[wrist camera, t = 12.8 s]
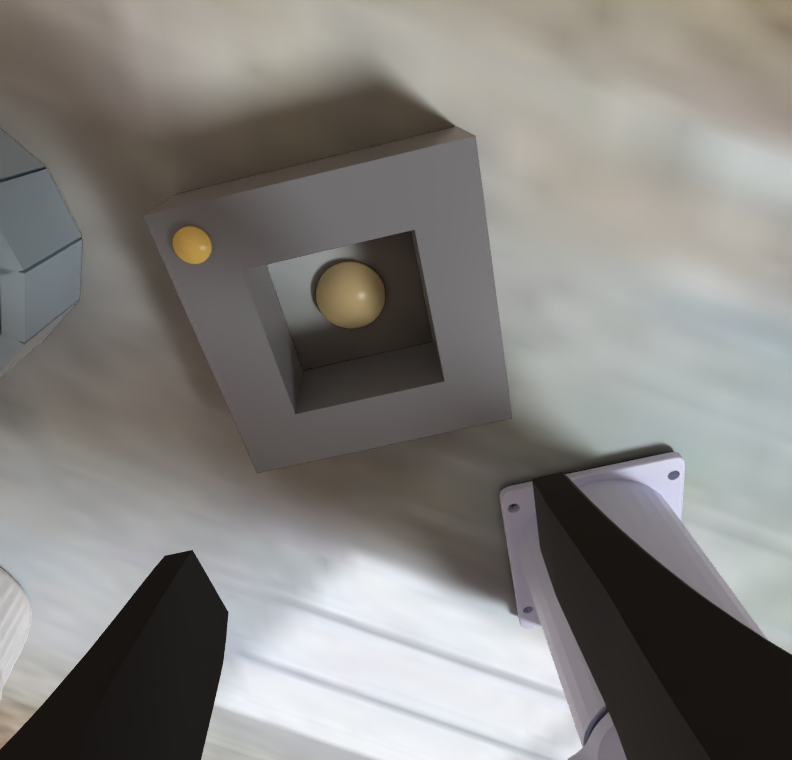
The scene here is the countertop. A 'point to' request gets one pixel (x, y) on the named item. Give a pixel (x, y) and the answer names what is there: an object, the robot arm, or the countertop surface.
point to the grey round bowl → (33, 254)
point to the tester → (342, 297)
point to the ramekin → (12, 624)
